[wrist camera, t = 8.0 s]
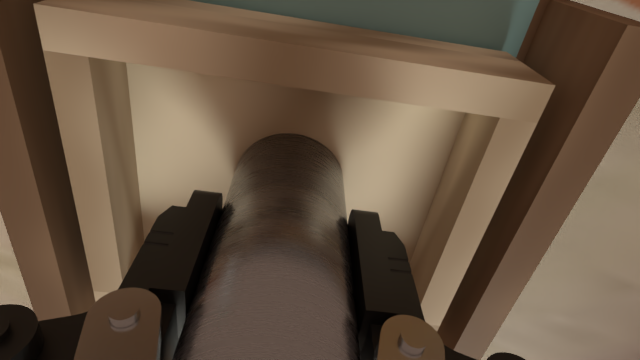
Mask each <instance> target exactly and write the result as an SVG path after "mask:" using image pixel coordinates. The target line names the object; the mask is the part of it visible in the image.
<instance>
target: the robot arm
mask: <svg viewBox="0 0 640 360" xmlns="http://www.w3.org/2000/svg"><path fill="white" fill-rule="evenodd" d="M222 205H223V196H222V193H218V192H210V191H201V190H194V191H193V193H192V195H191V197H190V200H189V202H188V204H187V206H186V207H181V206H173V205H172V206H171V207H169V208H168V209H167V210H166V211H164V212H163V213H162V214H160V215H159V216H158V217H157V219H156V221H155V223H154V224H153V226H152V228H151V230H150V233H148V235H147V237H146V239H145V241H144V244H142V246H141V248H140V250H139V252H138V254H137V255H136V257H135V259H134V261H133V263H132V265H131V266H130V268H129V270H128V272H127V274H126V276H125V277H124V279H123V281H122V283H121V285H120V287H119V288H118V290H115V291H112V292H110V293H108V294H106V295H104V296H103V297H101V298H100V299H98V300H97V301H96V302H95V303H94V304H93V305H92V306H91V308H90V309H89V311H87V312H84V313H81V314H77V315H72V316H66V317H60V318H54V319H48V320H41V321H38V319H37V316H36V314H35V313H34V312H33V311H32V310H31V309H29V308H28V307H25V306H22V305H13V304H8V305H0V360H172V358H173V355H174V352H175V349H176V346H177V344H178V341H179V338H180V335H181V332H182V329H183V326H184V323H185V320H186V317H187V314H188V311H189V308H190V305H191V302H192V299H193V296H194V293H195V290H196V287H197V284H198V281H199V278H200V275H201V272H202V269H203V266H204V263H205V260H206V257H207V254H208V251H209V248H210V245H211V242H212V239H213V236H214V233H215V230H216V227H217V224H218V221H219V218H220V215H221V212H222ZM348 234H349V245H350V255H351V265H352V276H353V286H354V296H355V307H356V317H357V327H358V338H359V348H360V358H361V360H477V359H474V358H472V357H469V356H466V355H464V354H461V353H459V352H456V351H454V350H452V349H450V348H449V347H447V346H446V345H444V344H443V341H442V339H441V337H440V336H439V334H438V333H437V331H436V330H435V329H434V328H433V327H432V326H431V325H429V324H428V323H427V322H425V319H424V316H423V312H422V308H421V304H420V301H419V297H418V293H417V290H416V286H415V282H414V278H413V275H412V274H411V272H412V271H411V267H410V263H409V262H408V256H407V252H406V248H405V245H404V244H403V243H402V241H401V240H400V239H399V238H398V236H397V235H396V234H395V232H389V231H382V228H381V223H380V218H379V214H378V212H371V211H362V210H354V209H352V210H351V212H350V216H349V220H348ZM487 360H525V359H523V358H522V357H519V356H517V355H514V354H511V353H495V354H493V355H491V356H490V357H488V359H487Z"/></svg>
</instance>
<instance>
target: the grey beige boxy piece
mask: <svg viewBox="0 0 640 360" xmlns="http://www.w3.org/2000/svg"><path fill="white" fill-rule="evenodd" d="M33 5H34V10H35V15H36V20H37V25H38V29H39V34H40V39H41V44H42V48H43V53H44V58H45V63H46V67H47V72H48V77H49V82H50V87H51V91H52V96H53V101H54V106H55V110H56V115H57V120H58V125H59V130H60V134H61V139H62V144H63V149H64V153H65V158H66V163H67V168H68V173H69V177H70V182H71V187H72V192H73V196H74V201H75V206H76V211H77V215H78V220H79V225H80V230H81V235H82V239H83V244H84V249H85V254H86V258H87V263H88V268H89V273H90V278H91V282H92V287H93V292H94V297H95V301H97V300H98V299H100V298H101V297H103V296H104V295H106V294H108V293H110V292H112V291H115V290H118V288H119V287H120V285H121V283H122V281H123V279H124V277H125V276H126V274H127V272H128V270H129V268H130V266H131V265H132V263H133V261H134V259H135V257H136V255H137V254H138V252H139V250H140V248H141V246H142V244H144V241H145V239H146V237H147V235H148V233H150V230H151V228H152V226H153V224H154V223H155V221H156V219H157V217H158V216H159V215H160V214H162V213H163V212H164V211H166V210H167V209H168V208H169V207H171V206H172V205H173V206H181V207H186V206H187V204H188V202H189V200H190V197H191V195H192V193H193V191H194V190H201V191H210V192H218V193H222V196H223V205H222V212H221V215H220V218H219V221H218V224H217V227H216V230H215V233H214V236H213V239H212V242H211V245H210V248H209V251H208V254H207V257H206V260H205V263H204V266H203V269H202V272H201V275H200V278H199V281H198V284H197V287H196V290H195V293H194V296H193V299H192V302H191V305H190V308H189V311H188V314H187V317H186V320H185V323H184V326H183V329H182V332H181V335H180V338H179V341H178V344H177V346H176V349H175V352H174V355H173V358H172V360H361V358H360V348H359V338H358V327H357V317H356V307H355V296H354V286H353V276H352V265H351V255H350V245H349V234H348V220H349V216H350V212H351V210H352V209H354V210H362V211H371V212H378V214H379V218H380V223H381V228H382V231H389V232H395V234H396V235H397V236H398V238H399V239H400V240H401V241H402V243H403V244H404V245H405V248H406V252H407V256H408V262H409V263H410V267H411V271H412V272H411V274H412V275H413V278H414V282H415V286H416V290H417V293H418V297H419V301H420V304H421V308H422V312H423V316H424V319H425V322H427V323H428V324H429V325H431V326H432V327H433V328H434V329H435V330H436V331H438V329H439V327H440V324H441V322H442V320H443V318H444V316H445V314H446V312H447V310H448V308H449V306H450V304H451V302H452V300H453V297H454V295H455V293H456V291H457V289H458V287H459V285H460V283H461V281H462V279H463V277H464V275H465V273H466V270H467V268H468V266H469V264H470V262H471V260H472V258H473V256H474V254H475V252H476V250H477V248H478V246H479V244H480V241H481V239H482V237H483V235H484V233H485V231H486V229H487V227H488V225H489V223H490V221H491V219H492V217H493V214H494V212H495V210H496V208H497V206H498V204H499V202H500V200H501V198H502V196H503V194H504V192H505V190H506V187H507V185H508V183H509V181H510V179H511V177H512V175H513V173H514V171H515V169H516V167H517V165H518V163H519V160H520V158H521V156H522V154H523V152H524V150H525V148H526V146H527V144H528V142H529V140H530V138H531V136H532V133H533V131H534V129H535V127H536V125H537V123H538V121H539V119H540V117H541V115H542V113H543V111H544V109H545V107H546V104H547V102H548V100H549V98H550V96H551V94H552V92H553V90H554V88H555V86H556V85H554V84H553V83H551V82H550V81H548V80H547V79H546V78H544V77H543V76H541V75H540V74H538V73H537V72H535V71H534V70H532V69H531V68H530V67H528V66H527V65H525V64H524V63H522V62H521V61H519V60H518V59H516V58H515V57H513V56H512V55H511V54H509V53H508V52H504V51H498V50H492V49H486V48H480V47H474V46H467V45H461V44H455V43H449V42H443V41H437V40H430V39H424V38H418V37H412V36H406V35H400V34H393V33H387V32H381V31H375V30H369V29H363V28H356V27H350V26H344V25H338V24H332V23H326V22H319V21H313V20H307V19H301V18H295V17H289V16H282V15H276V14H270V13H264V12H258V11H252V10H246V9H239V8H233V7H227V6H221V5H215V4H209V3H202V2H196V1H190V0H44V1H41V2H37V3H34V4H33Z"/></svg>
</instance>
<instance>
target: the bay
mask: <svg viewBox="0 0 640 360" xmlns="http://www.w3.org/2000/svg"><path fill="white" fill-rule="evenodd" d="M41 1H44V0H0V211H1V214H2V217H3V220H4V223H5V226H6V229H7V232H8V235H9V238H10V241H11V244H12V247H13V250H14V253H15V256H16V259H17V262H18V265H19V268H20V271H21V274H22V277H23V280H24V283H25V286H26V289H27V292H28V295H29V298H30V301H31V304H32V307H33V310H34V313H35V314H36V316H37V319H38V321H41V320H48V319H54V318H60V317H66V316H72V315H77V314H81V313H84V312H87V311H89V309H90V308H91V306H92V305H93V304H94V303H95V302H96V301H95V297H94V292H93V287H92V282H91V278H90V273H89V268H88V263H87V258H86V254H85V249H84V244H83V239H82V235H81V230H80V225H79V220H78V215H77V211H76V206H75V201H74V196H73V192H72V187H71V182H70V177H69V173H68V168H67V163H66V158H65V153H64V149H63V144H62V139H61V134H60V130H59V125H58V120H57V115H56V110H55V106H54V101H53V96H52V91H51V87H50V82H49V77H48V72H47V67H46V63H45V58H44V53H43V48H42V44H41V39H40V34H39V29H38V25H37V20H36V15H35V10H34V5H33V4H34V3H37V2H41ZM190 1H196V2H202V3H209V4H215V5H221V6H227V7H233V8H239V9H246V10H252V11H258V12H264V13H270V14H276V15H282V16H289V17H295V18H301V19H307V20H313V21H319V22H326V23H332V24H338V25H344V26H350V27H356V28H363V29H369V30H375V31H381V32H387V33H393V34H400V35H406V36H412V37H418V38H424V39H430V40H437V41H443V42H449V43H455V44H461V45H467V46H474V47H480V48H486V49H492V50H498V51H504V52H508V53H509V54H511V55H512V56H513V57H515V58H516V59H518V60H519V61H521V62H522V63H524V64H525V65H527V66H528V67H530V68H531V69H532V70H534V71H535V72H537V73H538V74H540V75H541V76H543V77H544V78H546V79H547V80H548V81H550V82H551V83H553V84H554V85H556V86H555V88H554V90H553V92H552V94H551V96H550V98H549V100H548V102H547V104H546V107H545V109H544V111H543V113H542V115H541V117H540V119H539V121H538V123H537V125H536V127H535V129H534V131H533V133H532V136H531V138H530V140H529V142H528V144H527V146H526V148H525V150H524V152H523V154H522V156H521V158H520V160H519V163H518V165H517V167H516V169H515V171H514V173H513V175H512V177H511V179H510V181H509V183H508V185H507V187H506V190H505V192H504V194H503V196H502V198H501V200H500V202H499V204H498V206H497V208H496V210H495V212H494V214H493V217H492V219H491V221H490V223H489V225H488V227H487V229H486V231H485V233H484V235H483V237H482V239H481V241H480V244H479V246H478V248H477V250H476V252H475V254H474V256H473V258H472V260H471V262H470V264H469V266H468V268H467V270H466V273H465V275H464V277H463V279H462V281H461V283H460V285H459V287H458V289H457V291H456V293H455V295H454V297H453V300H452V302H451V304H450V306H449V308H448V310H447V312H446V314H445V316H444V318H443V320H442V322H441V324H440V327H439V329H438V331H437V333H438V334H439V336H440V337H441V339H442V341H443V344H444V345H446V346H447V347H449V348H450V349H452V350H454V351H456V352H459V353H461V354H464V355H466V356H469V357H472V358H474V359H477V360H481V358H482V356H483V355H484V353H485V351H486V350H487V348H488V347H489V345H490V343H491V342H492V340H493V338H494V337H495V335H496V333H497V332H498V330H499V328H500V327H501V325H502V323H503V322H504V320H505V318H506V317H507V315H508V314H509V312H510V310H511V309H512V307H513V305H514V304H515V302H516V300H517V299H518V297H519V295H520V294H521V292H522V290H523V289H524V287H525V286H526V284H527V282H528V281H529V279H530V277H531V276H532V274H533V272H534V271H535V269H536V267H537V266H538V264H539V262H540V261H541V259H542V257H543V256H544V254H545V253H546V251H547V249H548V248H549V246H550V244H551V243H552V241H553V239H554V238H555V236H556V234H557V233H558V231H559V229H560V228H561V226H562V225H563V223H564V221H565V220H566V218H567V216H568V215H569V213H570V211H571V210H572V208H573V206H574V205H575V203H576V201H577V200H578V198H579V196H580V195H581V193H582V192H583V190H584V188H585V187H586V185H587V183H588V182H589V180H590V178H591V177H592V175H593V173H594V172H595V170H596V168H597V167H598V165H599V164H600V162H601V160H602V159H603V157H604V155H605V154H606V152H607V150H608V149H609V147H610V145H611V144H612V142H613V140H614V139H615V137H616V135H617V134H618V132H619V131H620V129H621V127H622V126H623V124H624V122H625V121H626V119H627V117H628V116H629V114H630V112H631V111H632V109H633V107H634V106H635V104H636V103H637V101H638V99H639V98H640V22H639V21H635V20H632V19H629V18H626V17H622V16H619V15H616V14H613V13H609V12H606V11H603V10H600V9H596V8H593V7H590V6H587V5H583V4H580V3H577V2H574V1H570V0H190Z"/></svg>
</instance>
